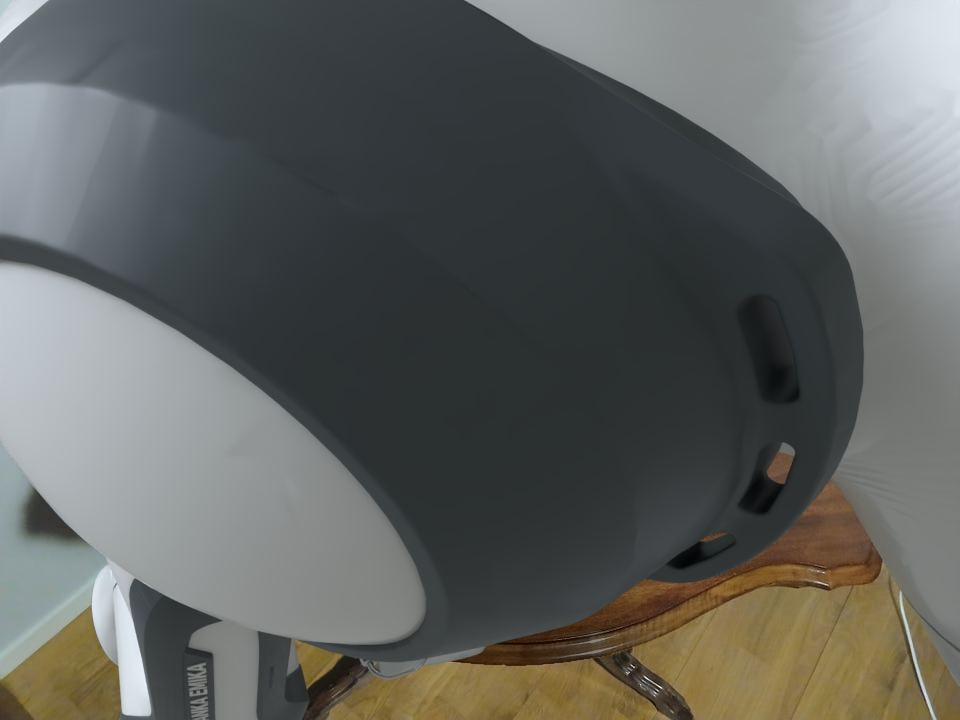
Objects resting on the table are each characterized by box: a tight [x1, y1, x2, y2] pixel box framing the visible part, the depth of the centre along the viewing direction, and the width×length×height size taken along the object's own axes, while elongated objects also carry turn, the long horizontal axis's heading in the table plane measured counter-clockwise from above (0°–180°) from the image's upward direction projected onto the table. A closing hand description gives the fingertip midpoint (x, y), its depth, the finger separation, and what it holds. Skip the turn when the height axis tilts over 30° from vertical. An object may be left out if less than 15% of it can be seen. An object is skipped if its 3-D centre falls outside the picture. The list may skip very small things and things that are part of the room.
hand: (507, 505), depth 58 cm, fingers open, 8 cm apart
